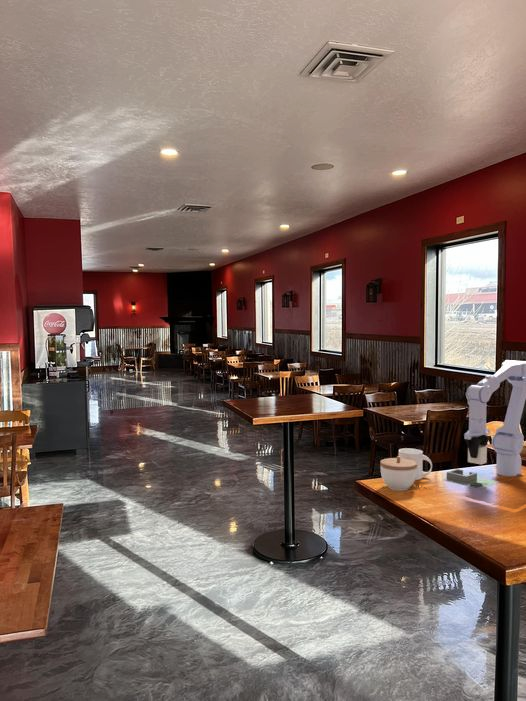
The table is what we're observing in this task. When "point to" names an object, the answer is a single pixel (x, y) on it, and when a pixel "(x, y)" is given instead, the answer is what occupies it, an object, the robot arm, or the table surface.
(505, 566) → the table surface
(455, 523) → the table surface
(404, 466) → the lidded bowl
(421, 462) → the mug
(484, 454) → the plug
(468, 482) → the board
